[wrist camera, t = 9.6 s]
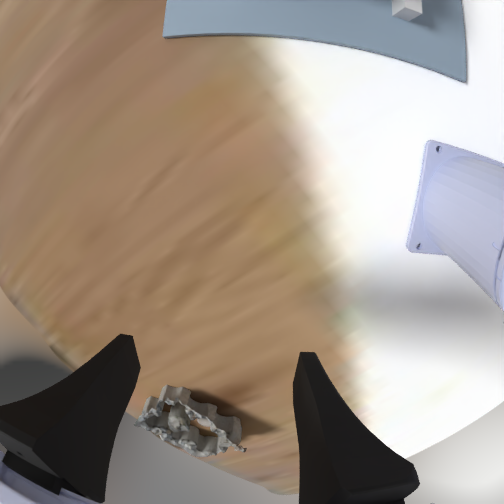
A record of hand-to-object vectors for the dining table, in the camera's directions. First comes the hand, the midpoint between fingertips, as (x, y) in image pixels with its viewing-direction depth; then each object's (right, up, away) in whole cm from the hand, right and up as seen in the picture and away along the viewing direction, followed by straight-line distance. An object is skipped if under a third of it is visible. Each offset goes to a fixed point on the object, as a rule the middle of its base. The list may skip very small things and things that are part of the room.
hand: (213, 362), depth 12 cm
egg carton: (-5, -13, +17) cm, 22 cm away
